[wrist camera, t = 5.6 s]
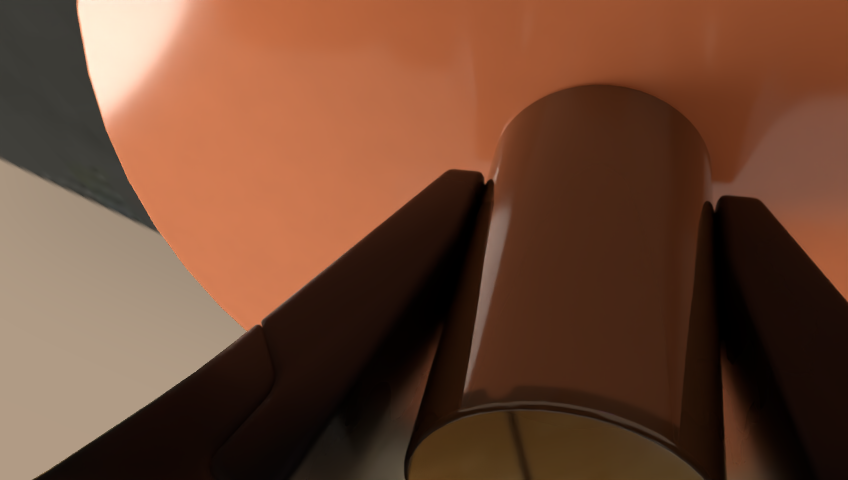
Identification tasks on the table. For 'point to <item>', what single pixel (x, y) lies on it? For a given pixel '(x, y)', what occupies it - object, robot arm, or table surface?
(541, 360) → the pot lid
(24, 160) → the table surface
